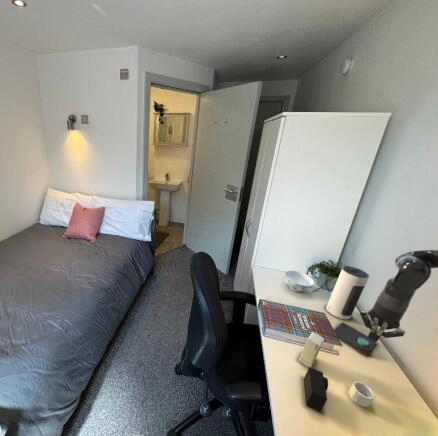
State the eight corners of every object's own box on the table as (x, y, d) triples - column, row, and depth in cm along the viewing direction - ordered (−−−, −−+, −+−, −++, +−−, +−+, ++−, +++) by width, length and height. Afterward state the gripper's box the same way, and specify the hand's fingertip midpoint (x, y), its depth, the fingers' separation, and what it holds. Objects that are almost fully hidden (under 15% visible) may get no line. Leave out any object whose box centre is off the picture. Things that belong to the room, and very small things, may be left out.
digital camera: (325, 414, 76) (332, 401, 74) (305, 405, 79) (312, 392, 76) (320, 386, 85) (327, 373, 82) (303, 379, 87) (309, 366, 85)
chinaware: (276, 281, 145) (279, 271, 142) (296, 279, 147) (300, 269, 145) (294, 297, 131) (298, 286, 128) (316, 295, 134) (320, 284, 131)
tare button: (368, 344, 100) (370, 342, 99) (366, 348, 98) (367, 346, 98) (358, 338, 103) (359, 336, 102) (355, 342, 101) (356, 339, 100)
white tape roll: (371, 402, 81) (377, 392, 79) (366, 412, 78) (371, 402, 76) (351, 387, 85) (356, 378, 83) (345, 396, 82) (350, 386, 80)
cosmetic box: (310, 369, 91) (320, 346, 87) (298, 360, 94) (307, 338, 90) (315, 359, 95) (325, 338, 91) (303, 352, 98) (312, 330, 94)
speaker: (332, 317, 118) (350, 275, 108) (321, 303, 127) (337, 263, 118) (355, 321, 116) (376, 278, 107) (342, 306, 126) (360, 266, 116)
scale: (376, 344, 104) (379, 339, 103) (366, 357, 97) (369, 352, 96) (341, 324, 114) (343, 319, 113) (330, 334, 107) (332, 330, 106)
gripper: (420, 312, 80) (398, 348, 86) (371, 290, 90) (355, 324, 96) (414, 320, 76) (391, 357, 82) (364, 296, 86) (347, 331, 93)
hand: (372, 339), depth 89 cm, fingers closed
